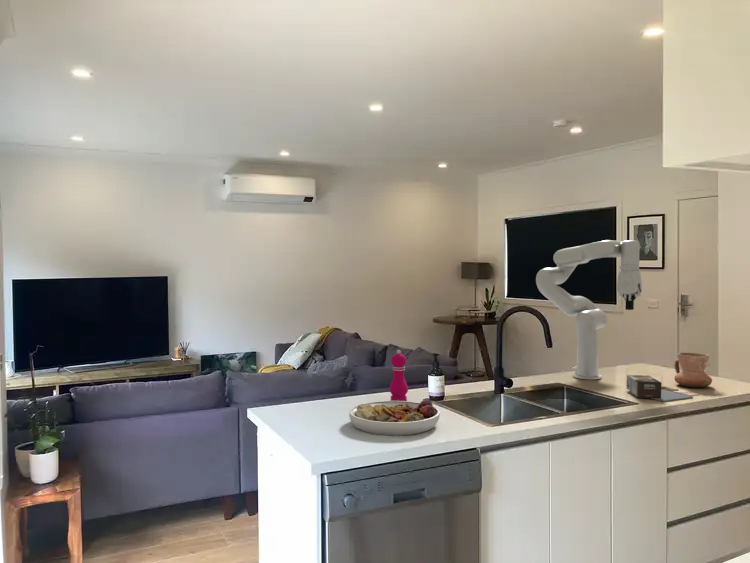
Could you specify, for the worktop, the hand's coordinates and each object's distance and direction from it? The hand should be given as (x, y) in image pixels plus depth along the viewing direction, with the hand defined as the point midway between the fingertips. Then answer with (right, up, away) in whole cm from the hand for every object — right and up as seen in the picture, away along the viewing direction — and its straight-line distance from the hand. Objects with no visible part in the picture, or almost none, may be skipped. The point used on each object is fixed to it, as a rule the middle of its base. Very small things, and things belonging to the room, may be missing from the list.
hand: (629, 309), depth 266 cm
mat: (+2, -34, -23) cm, 41 cm away
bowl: (-107, -36, -66) cm, 131 cm away
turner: (+12, -34, -15) cm, 39 cm away
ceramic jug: (+25, -33, -4) cm, 42 cm away
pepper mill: (-104, -35, -31) cm, 114 cm away
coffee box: (-3, -30, -15) cm, 33 cm away
